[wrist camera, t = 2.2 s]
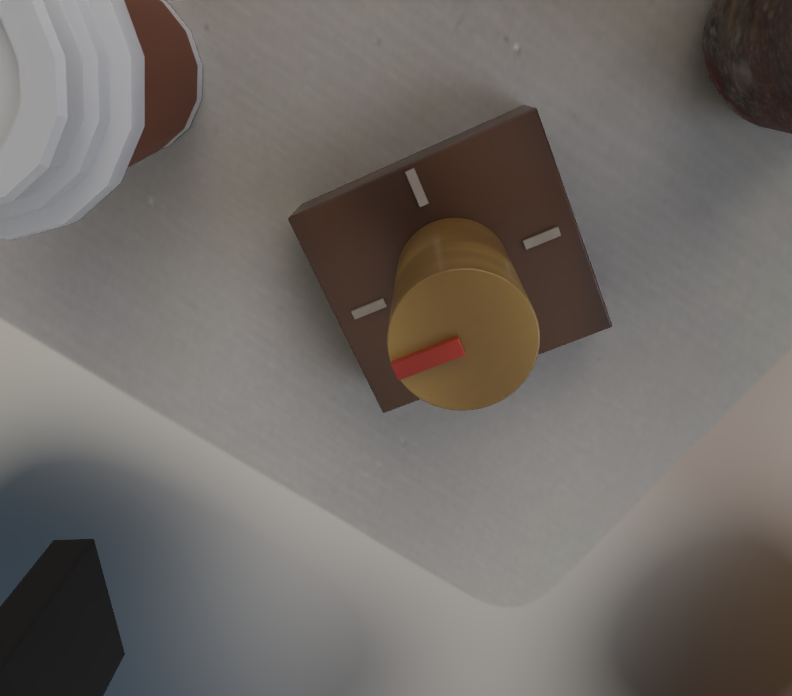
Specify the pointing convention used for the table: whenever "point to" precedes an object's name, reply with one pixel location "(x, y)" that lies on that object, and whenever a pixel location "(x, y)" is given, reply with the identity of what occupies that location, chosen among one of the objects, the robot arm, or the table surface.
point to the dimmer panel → (452, 198)
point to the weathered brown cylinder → (752, 58)
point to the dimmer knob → (460, 318)
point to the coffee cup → (86, 102)
